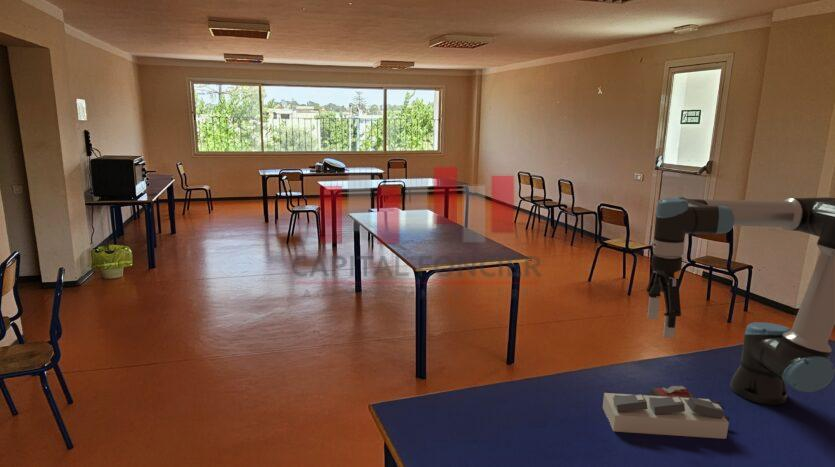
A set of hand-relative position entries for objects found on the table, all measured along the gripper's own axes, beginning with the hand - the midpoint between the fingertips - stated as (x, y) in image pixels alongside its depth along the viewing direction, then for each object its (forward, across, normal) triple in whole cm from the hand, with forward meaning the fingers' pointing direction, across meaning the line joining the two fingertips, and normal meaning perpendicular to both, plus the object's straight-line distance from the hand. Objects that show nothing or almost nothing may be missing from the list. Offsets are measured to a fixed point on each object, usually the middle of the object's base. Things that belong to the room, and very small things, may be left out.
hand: (660, 327), depth 146 cm
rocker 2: (+22, +6, +2) cm, 22 cm away
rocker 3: (+22, +6, +12) cm, 26 cm away
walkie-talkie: (+29, -10, +12) cm, 33 cm away
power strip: (+28, +3, +3) cm, 28 cm away
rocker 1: (+21, +6, -8) cm, 24 cm away
